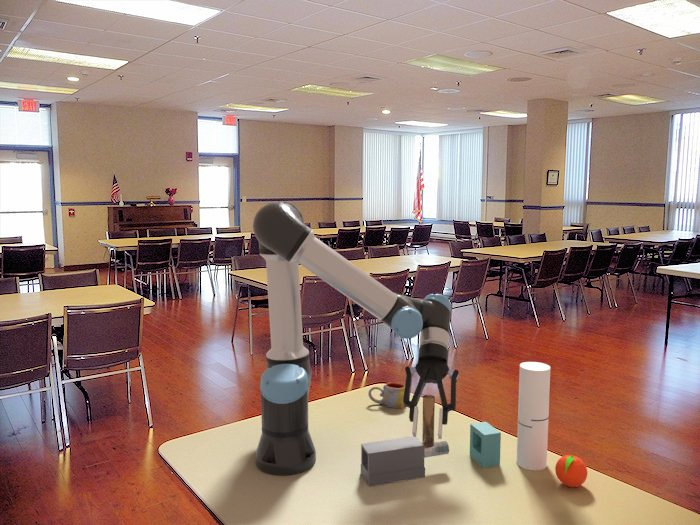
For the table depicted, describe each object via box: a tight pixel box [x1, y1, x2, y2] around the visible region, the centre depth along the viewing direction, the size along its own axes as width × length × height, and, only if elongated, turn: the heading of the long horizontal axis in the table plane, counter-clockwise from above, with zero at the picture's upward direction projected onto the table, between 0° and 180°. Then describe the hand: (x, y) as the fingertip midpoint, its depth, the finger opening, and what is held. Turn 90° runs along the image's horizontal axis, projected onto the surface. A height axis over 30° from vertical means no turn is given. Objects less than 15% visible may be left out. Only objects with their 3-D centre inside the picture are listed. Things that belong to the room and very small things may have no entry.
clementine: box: [554, 454, 588, 488], centre depth 132 cm, size 8×7×7 cm
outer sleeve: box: [360, 436, 426, 487], centre depth 137 cm, size 6×14×8 cm, turn 107°
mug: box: [367, 382, 405, 409], centre depth 183 cm, size 12×7×7 cm, turn 81°
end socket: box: [469, 421, 502, 469], centre depth 144 cm, size 7×4×8 cm, turn 17°
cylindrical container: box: [516, 361, 551, 472], centre depth 142 cm, size 7×7×25 cm
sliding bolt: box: [421, 394, 450, 459], centre depth 138 cm, size 3×18×15 cm, turn 107°
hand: (426, 435), depth 136 cm, fingers open, 5 cm apart
